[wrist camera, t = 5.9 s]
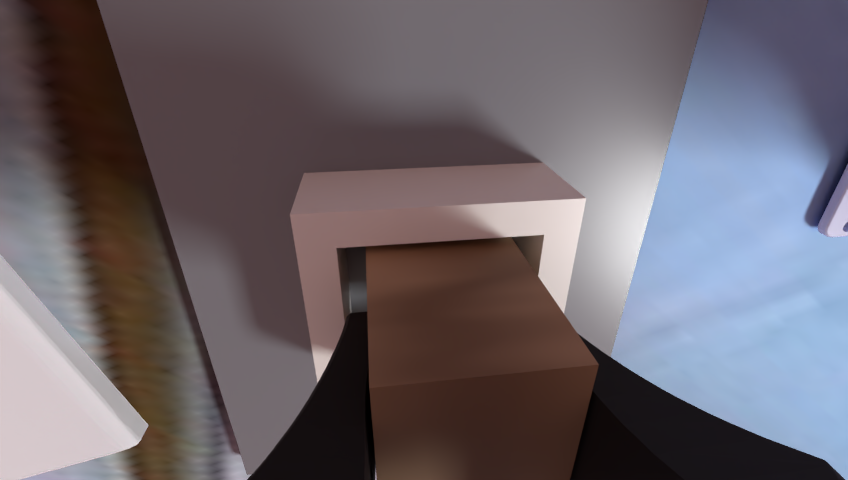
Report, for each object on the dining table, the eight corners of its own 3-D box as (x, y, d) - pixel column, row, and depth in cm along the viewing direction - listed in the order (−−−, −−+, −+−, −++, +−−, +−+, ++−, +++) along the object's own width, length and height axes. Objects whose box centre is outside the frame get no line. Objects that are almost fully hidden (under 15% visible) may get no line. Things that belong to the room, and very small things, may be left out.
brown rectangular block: (499, 220, 13) (598, 364, 7) (490, 326, 15) (564, 501, 9) (365, 228, 12) (369, 387, 7) (372, 337, 14) (381, 527, 9)
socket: (706, -69, 12) (840, -99, 9) (581, 418, 21) (623, 493, 18) (88, -84, 10) (-45, -130, 7) (251, 458, 20) (228, 549, 16)
